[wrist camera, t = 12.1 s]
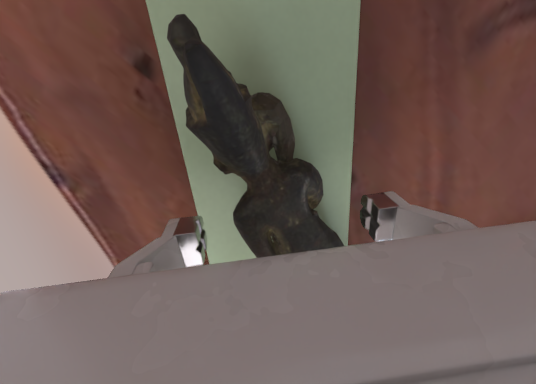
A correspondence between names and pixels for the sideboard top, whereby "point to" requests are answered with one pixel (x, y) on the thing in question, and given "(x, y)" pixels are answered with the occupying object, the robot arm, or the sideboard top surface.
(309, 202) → the statue
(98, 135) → the sideboard top surface
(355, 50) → the board
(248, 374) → the robot arm
